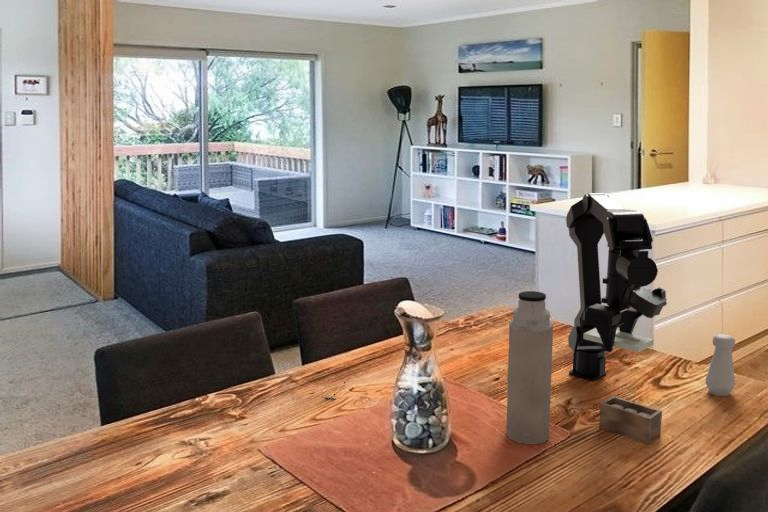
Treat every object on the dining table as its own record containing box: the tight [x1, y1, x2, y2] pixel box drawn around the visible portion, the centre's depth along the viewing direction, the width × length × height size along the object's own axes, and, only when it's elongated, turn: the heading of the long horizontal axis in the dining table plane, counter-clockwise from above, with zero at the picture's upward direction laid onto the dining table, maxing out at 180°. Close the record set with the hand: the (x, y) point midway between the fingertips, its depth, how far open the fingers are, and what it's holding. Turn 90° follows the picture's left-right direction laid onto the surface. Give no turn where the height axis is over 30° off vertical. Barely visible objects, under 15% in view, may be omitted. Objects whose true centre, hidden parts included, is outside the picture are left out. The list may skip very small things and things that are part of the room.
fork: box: [321, 395, 336, 400], centre depth 155 cm, size 3×16×2 cm, turn 166°
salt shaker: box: [705, 333, 736, 397], centre depth 150 cm, size 6×6×13 cm
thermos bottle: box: [506, 290, 554, 445], centre depth 130 cm, size 8×8×28 cm
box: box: [598, 395, 663, 445], centre depth 133 cm, size 10×5×5 cm, turn 44°
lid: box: [583, 328, 654, 354], centre depth 142 cm, size 12×6×2 cm, turn 44°
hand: (617, 347), depth 143 cm, fingers closed on lid, 6 cm apart
